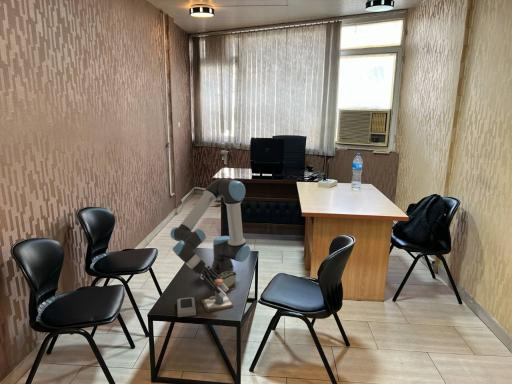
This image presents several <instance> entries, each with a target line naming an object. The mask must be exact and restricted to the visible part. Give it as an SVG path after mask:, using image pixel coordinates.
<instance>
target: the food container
mask: <svg viewBox="0 0 512 384" xmlns="http://www.w3.org/2000/svg"><path fill="white" fill-rule="evenodd" d="M237 275H238V274H237V272H236V271H234V270H233V271H225V272H222V273H221V274H218V276H220V278H221V279H222V280H223V284H224V285H225V286H226V287H227V288H229V289H228V290H227V291H226V292H228V291H231V290H233V289H235V287H236V281H237V280H236V277H237ZM223 292H224V291H223ZM224 293H225V292H224Z"/></svg>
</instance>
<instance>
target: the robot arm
mask: <svg viewBox="0 0 512 384" xmlns="http://www.w3.org/2000/svg"><path fill="white" fill-rule="evenodd" d="M245 196H246V187H245V184H243V182H242V181H238V180H234V179H225V178H217V179H216V180H214V181H213V182H211V183H210V184H209V185H208V186H207V187H206V188H205V189H204V190H203V194H202V195H201V197H200V198H199V200H198V201H197V202H196V203H195V205H194V206H193V207H192V208H191V210H190V211H189V212H188V214H187V215H186V217H185V218H184V219H183V220H182V221H181V223H180V225H179V226H178V227H173V228H172V229H171V230H170V233H169V235H170V238H171V239H172V240H174V241H177V243H176V244H175V245H174V246H173V247H172V252H173V253H174V254H175V255H176V256H177V257H178V258H179V259H180V260H181V261H182V262H184V263H185V265H186V266H188V267H189V269H191V270H192V272H193V273H195V274H199V276H200V277H199V280H200V281H202V283H204V285H206V287H207V288H208V289H209V290H210V291H211V292H213V291H214V292H215V291H216V292H217V293H218V294H219V295H220V296H221V297H222V298H223V297H224V296H226V295H227V294H226V293H227V292H228V291H227V290H228V289H229V288H227V287H226V286H225V285H224V284H223V291H224V292H223V291H222V290H221V289H220V288H219V287H218V286H216V285H215V280H216V279H221V278H220V276H219V275H220V274H221V273H222V272H225V271H234V264H233V261H236V262H239V263H242V262H245V261H246V260H247V259H248V258H249V255H250V254H251V253H250V252H251V248H250V247H251V246H249V245H248V244H246V243H247V241H246V239H245V237H244V234H243V224H242V223H243V221H242V210H241V209H242V208H241V203H242V202H243V200H244V198H245ZM219 198H223V203H224V204H225V205H226V212H227V213H226V215H227V223H228V224H227V225H228V234H229V235H222V236H221V235H220V236H217V237H215V238H214V239H213V242H212V247H213V251H212V253H213V260H212V262H211V263H212V264H211V266H210V265H207V266H206V263H205V261H204V260H203V259H201V257H199V255H198V254H197V253H196V252H195V250H197V248H198V247H199V246H200V245H201V244H202V243H203V242H204V241H205V240H206V238H207V237H206V236H207V235H206V233H205V232H204V231H203V230H202V229H200V228H197V229H195V227H196V225H198V222H199V221H200V220H201V219H202V218H203V216H204V215H205V213H206V212H207V211H208V210H209V208H210V207H211V206H212V204H213V203H214V202H216V201H218V200H217V199H219ZM193 229H195V230H194V231H193ZM232 260H233V261H232Z"/></svg>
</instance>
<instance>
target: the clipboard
mask: <svg viewBox="0 0 512 384" xmlns="http://www.w3.org/2000/svg"><path fill="white" fill-rule="evenodd" d="M201 303H202V305H203V308H204V309H205V311H206V313H211V312H217V311H221V310H225V309H229V308H234V304H233V302H232V301H231V299H230V297H229V296H228V295H227V294H226V296H224V297H223V303H222V304H216V303H215V295H212V296H209V297H208V298H205V299H201Z"/></svg>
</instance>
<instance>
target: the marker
mask: <svg viewBox="0 0 512 384" xmlns="http://www.w3.org/2000/svg"><path fill="white" fill-rule="evenodd" d="M214 283H215V285H216V286H218V287H219V288H220V289H221V290H222V291H223V280H222V279H216V280H215V281H214ZM214 296H215V303H216V304H222V303H223V298H222V297H221V296H220V295H219V294H218V293H217V292H216V291H215V290H214Z"/></svg>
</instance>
